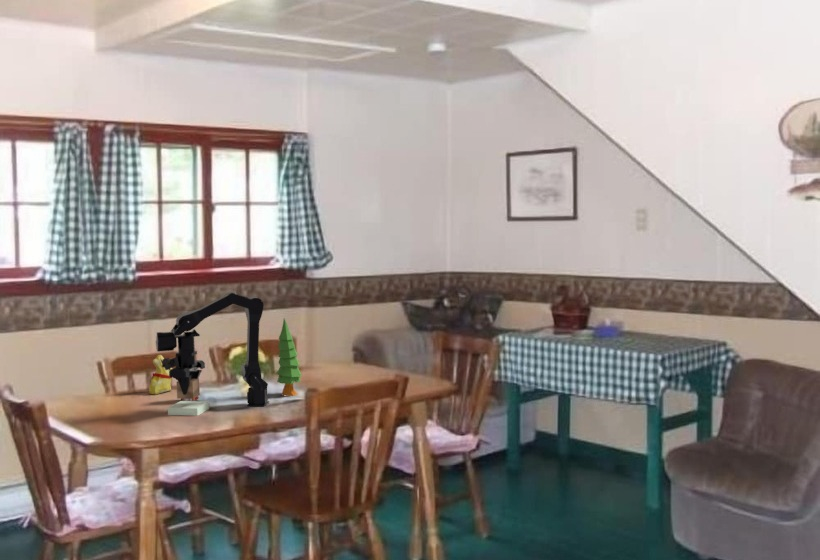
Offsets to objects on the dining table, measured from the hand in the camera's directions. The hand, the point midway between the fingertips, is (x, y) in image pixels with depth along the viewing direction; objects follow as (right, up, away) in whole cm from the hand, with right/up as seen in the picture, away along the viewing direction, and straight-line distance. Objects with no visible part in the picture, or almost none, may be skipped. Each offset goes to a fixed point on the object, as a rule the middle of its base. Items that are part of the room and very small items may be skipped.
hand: (188, 392), depth 346 cm
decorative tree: (+33, -4, +26) cm, 43 cm away
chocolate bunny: (-19, -4, +35) cm, 40 cm away
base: (0, -7, +1) cm, 7 cm away
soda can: (-4, -5, +18) cm, 20 cm away
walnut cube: (0, -2, 0) cm, 2 cm away
